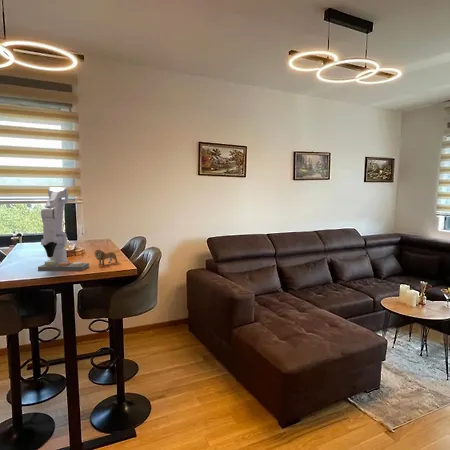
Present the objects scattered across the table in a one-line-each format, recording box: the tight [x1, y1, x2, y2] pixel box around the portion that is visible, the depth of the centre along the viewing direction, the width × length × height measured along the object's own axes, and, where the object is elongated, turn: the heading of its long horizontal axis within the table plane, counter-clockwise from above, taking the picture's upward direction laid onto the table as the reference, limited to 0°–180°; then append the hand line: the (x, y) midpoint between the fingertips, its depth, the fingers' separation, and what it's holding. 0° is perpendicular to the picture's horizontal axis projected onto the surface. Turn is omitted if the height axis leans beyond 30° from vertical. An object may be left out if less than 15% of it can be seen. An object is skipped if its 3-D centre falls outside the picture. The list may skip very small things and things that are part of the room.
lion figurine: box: [94, 248, 118, 266], centre depth 190 cm, size 15×5×9 cm, turn 147°
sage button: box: [44, 259, 56, 266], centre depth 176 cm, size 4×4×3 cm
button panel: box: [37, 262, 90, 272], centre depth 177 cm, size 10×22×2 cm, turn 93°
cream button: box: [71, 261, 84, 266], centre depth 177 cm, size 4×4×3 cm
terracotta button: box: [59, 261, 71, 266], centre depth 176 cm, size 4×4×3 cm
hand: (50, 256), depth 176 cm, fingers closed
